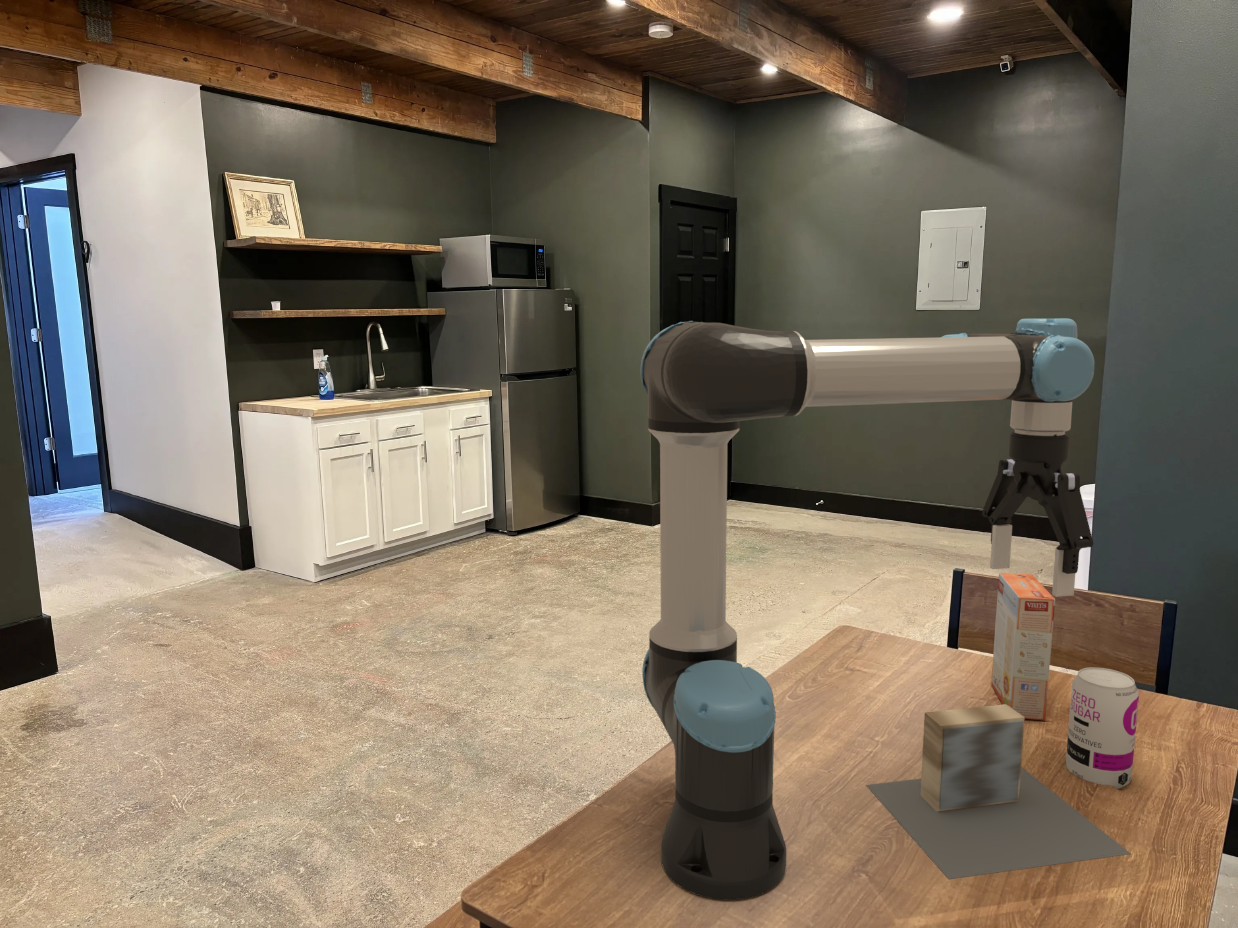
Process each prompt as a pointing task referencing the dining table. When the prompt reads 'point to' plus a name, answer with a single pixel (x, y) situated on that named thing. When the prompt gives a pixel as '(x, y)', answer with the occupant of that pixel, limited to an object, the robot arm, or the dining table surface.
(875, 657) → the dining table surface
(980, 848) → the mat
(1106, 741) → the supplement can
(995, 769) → the wooden block
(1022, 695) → the cracker box
